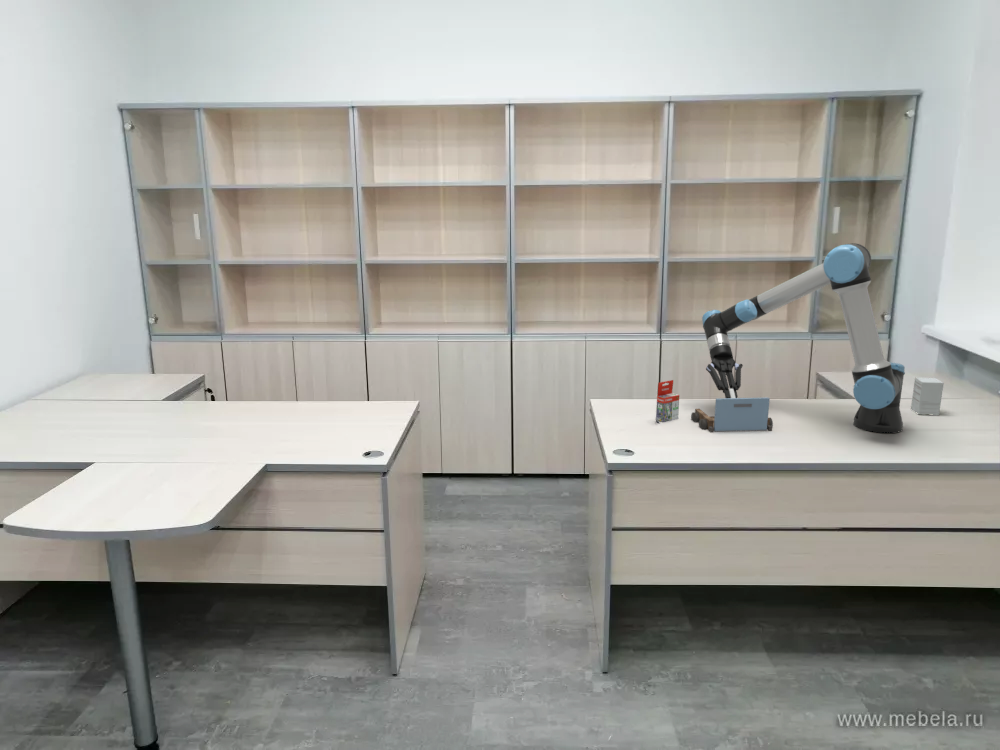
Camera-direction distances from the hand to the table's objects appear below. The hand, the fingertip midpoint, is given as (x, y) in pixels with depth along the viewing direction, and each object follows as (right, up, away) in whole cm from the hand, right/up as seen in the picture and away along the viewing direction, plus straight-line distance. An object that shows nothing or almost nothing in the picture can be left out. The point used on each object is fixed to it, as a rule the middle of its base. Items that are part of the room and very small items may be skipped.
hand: (734, 406), depth 244 cm
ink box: (-21, -6, +9) cm, 23 cm away
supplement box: (+77, -3, +19) cm, 79 cm away
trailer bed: (0, -7, +3) cm, 8 cm away
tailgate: (+1, -8, -4) cm, 9 cm away
